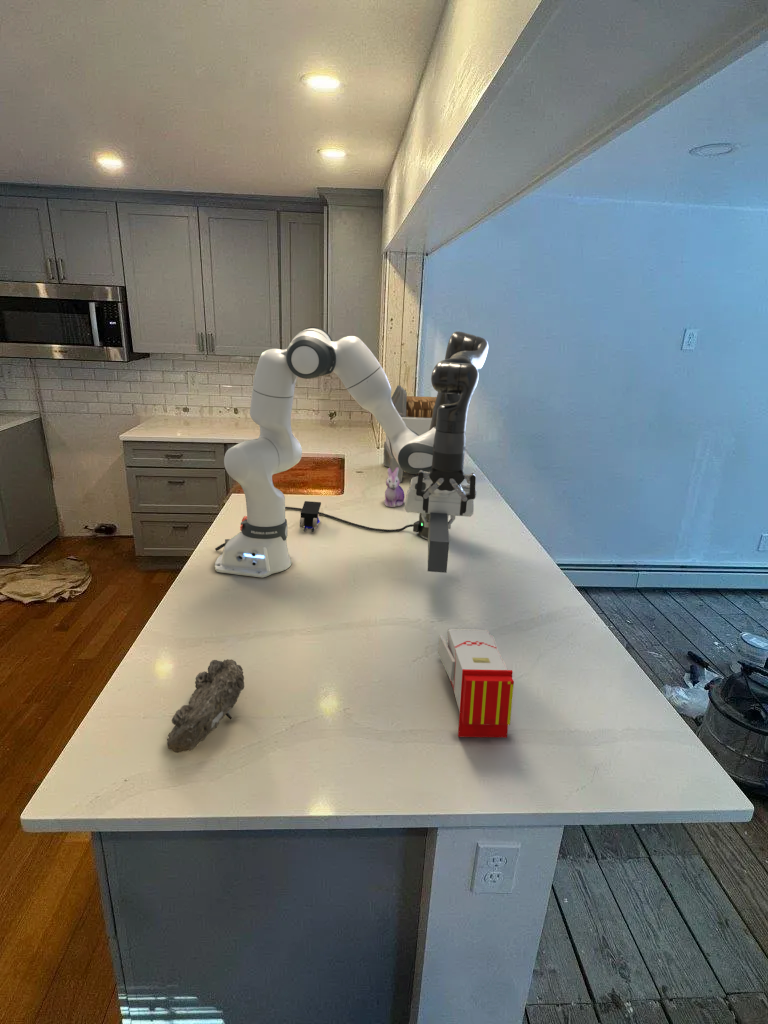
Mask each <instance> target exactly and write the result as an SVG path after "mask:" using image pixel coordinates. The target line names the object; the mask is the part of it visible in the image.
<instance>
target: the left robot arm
mask: <svg viewBox="0 0 768 1024" xmlns="http://www.w3.org/2000/svg"><path fill="white" fill-rule="evenodd" d="M383 368H384V367H382V365H381V363H380V362H379V360H378V359H377V357H376V356H375V354H374V353H373V352H372V351H371V349H370V348H369V346H367V344H366V343H365V342H363V340H362V339H361V338H360V337H358V336H357V335H356V336H355V335H347V336H344V337H341V338H340V339H338V340H336V341H333V339H332V337H331V335H330V334H329V333H328V332H327V331H326V330H324V329H323V328H320V327H317V326H310V327H306V328H304V329H302V330H301V331H299V332H298V333H296V335H295V336H294V337H293V338H292V340H291V342H290V343H289V344H288V346H287V348H285V349H280V348H269V349H266V350H264V351H263V352H262V353H261V354H260V356H259V359H258V361H257V365H256V368H255V372H254V375H253V382H252V388H251V389H252V390H251V396H250V397H251V399H250V406H249V415H250V418H251V420H253V422H254V423H255V424H256V425H258V426H259V436H258V437H257V438H254V439H249V440H245V441H241V442H239V443H236V444H235V445H232V446H230V447H229V448H228V449H227V450H226V451H225V454H224V457H223V465H224V469H225V471H226V473H227V474H228V476H229V477H230V478H231V479H233V481H236V482H237V483H238V484H239V486H240V487H241V489H242V491H243V494H244V497H245V504H246V505H245V506H246V515H244V516H243V517H242V519H241V522H240V526H239V532H238V533H237V534H234V536H233V537H231V538H226V539H224V543H221V544H220V545H218V546H217V547H215V548H214V550H215V551H216V552H218V551H220V550H221V549H223V550H222V553H221V554H220V555H219V556H218V557H217V558H216V560H215V562H214V570H215V571H216V572H217V573H222V574H231V575H237V576H238V575H239V576H246V577H252V578H253V577H254V578H262V579H263V578H266V577H268V576H269V577H270V575H274V574H277V573H281V572H283V571H285V570H287V569H290V567H291V566H292V563H293V562H292V559H291V556H290V552H289V547H288V539H287V538H288V520H287V519H286V509H285V507H286V496H285V494H284V492H282V491H281V490H280V489H279V488H277V487H275V485H274V481H273V476H274V475H277V474H279V473H283V472H287V471H288V470H290V469H292V468H294V467H295V466H296V465H297V464H299V463H300V462H301V459H302V457H303V448H302V446H301V443H300V441H299V440H298V438H297V437H296V436H295V435H294V433H293V428H292V413H293V404H294V403H293V402H294V397H295V391H296V389H295V388H296V384H297V380H298V378H300V379H305V380H311V379H316V378H319V377H323V376H327V375H330V374H332V373H333V374H335V375H336V376H337V377H338V378H339V381H340V382H341V384H343V386H344V388H345V389H346V391H347V392H348V394H349V395H350V396H351V397H352V399H353V400H354V401H355V402H356V403H357V404H358V405H359V406H360V407H361V409H364V410H366V411H368V412H369V413H370V414H371V415H373V417H374V418H375V419H376V421H377V422H378V423H379V426H380V427H381V428H382V430H383V432H384V434H385V436H386V435H387V437H388V439H389V443H390V450H391V454H392V456H393V457H394V459H395V460H396V461H397V463H398V464H399V466H400V467H401V468H402V470H403V472H405V473H407V474H410V475H417V476H413V477H412V478H411V480H410V483H409V484H410V486H409V487H408V489H407V492H406V496H405V499H404V511H405V512H406V513H413V514H420V513H422V515H421V517H422V519H423V521H424V522H425V523H424V527H429V520H427V519H426V514H430V512H432V513H446V514H447V515H449V517H450V519H448V530H451V528H452V524H453V523H454V522H455V520H456V517H467V518H471V517H472V516H473V515H474V509H475V508H474V501H475V499H476V497H477V489H476V488H475V498H474V499H470V500H468V501H467V505H466V512H465V513H463V515H460V503H461V497H460V496H459V495H458V493H457V492H456V490H453V491H447V490H443V491H440V490H439V489H436V490H435V491H434V492H433V493H432V494H431V495H430V496H429V505H428V513H425V511H423V497H421V496H417V495H416V490H417V482H418V474H419V471H420V470H423V471H425V472H430V471H431V469H432V459H433V444H434V436H435V432H436V427H433V428H432V429H431V430H429V431H428V432H426V433H424V434H422V435H420V436H419V435H418V434H417V433H416V432H414V431H412V430H411V429H409V428H408V427H407V426H406V425H405V423H404V422H403V420H402V418H401V417H400V415H399V413H398V412H397V410H396V408H395V407H394V405H393V402H392V399H391V398H392V386H391V384H390V381H389V378H388V376H387V374H386V372H385V370H384V369H383ZM431 483H432V481H431V479H430V477H427V478H426V480H424V481H423V482H422V490H423V491H425V490H426V489H427V488H428V487H429V486H430V484H431ZM460 486H461V487H462V489H463V491H464V492H465V493H466V494H468V493H469V492H470V484H463V483H461V484H460Z"/></svg>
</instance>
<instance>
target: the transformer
mask: <svg viewBox="0 0 768 1024" xmlns="http://www.w3.org/2000/svg"><path fill="white" fill-rule="evenodd" d="M407 394H408V393H407V390H406V389H404V388H403V387H402V385H399V384H398V385H397V386H396V388H395V390H394V392H393V394H392V395H391V399H392V402H393V405H394V407H395V408H396V410H397V412H398V413H399V415H400V417H401V418H402V420H403V422H404V423H405V425H406V426H407V427H408V428H409V429H411V430H412V431H414V432H416V433H417V434H418V435H419V436H420V435H422V434H424V433H426V432H428V431H429V428H430V424H431V420H432V415H433V409H434V405H435V401H436V398H437V396H415V395H414V396H413V395H412V396H411V395H407ZM383 466H384V467H388V468H390V469H391V471H392V472H394V470H395V469H396V468H397V467H398V468H399V471H398V475H397V476H398V479H399V481H400V483H402V482H403V475H404V470H402V468H401V467H400V466H399V464H398V463H397V461H396V460H395V459H394V457H393V456H392V454H391V450H390V443H389V439H388V437H387V435H386V434H385V438H384V442H383Z"/></svg>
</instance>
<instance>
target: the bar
mask: <svg viewBox="0 0 768 1024" xmlns="http://www.w3.org/2000/svg"><path fill="white" fill-rule="evenodd" d="M448 522H449V517H448V518H447V514H446V513H432V512H430V517H429V530H428V540H427V572H431V573H445V574H446V573H447V572H448V562H449V550H450V531H449V529H448Z"/></svg>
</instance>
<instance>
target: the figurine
mask: <svg viewBox="0 0 768 1024" xmlns="http://www.w3.org/2000/svg"><path fill="white" fill-rule="evenodd" d="M398 471H399V468H398V467H397V468H396V469H395V470H394V472H392V471H391V469H390V467H388V468H387V478H386V479H385V484H386V485H385V486H386V489H385V492H384V498H385V499H384V501H383V503H384V505H385V507H389V508H395V507H400V506H403V505H404V503H405V490H404V489H403V487H402V486H401V485H400V484H401V482H400V481H399V479H398V476H397V475H398Z"/></svg>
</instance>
